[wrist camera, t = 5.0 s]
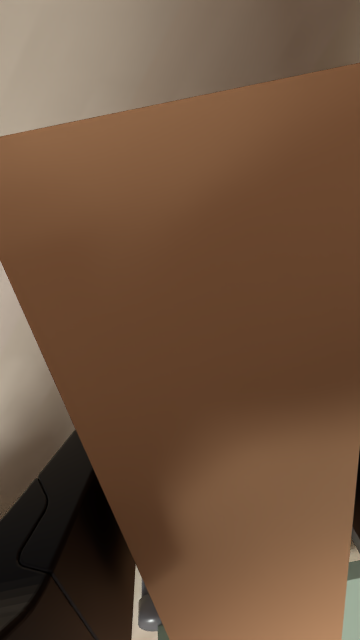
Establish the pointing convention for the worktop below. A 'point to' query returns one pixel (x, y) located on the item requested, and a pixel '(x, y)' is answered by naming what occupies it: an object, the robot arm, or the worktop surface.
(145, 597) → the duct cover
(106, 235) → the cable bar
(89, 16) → the worktop surface
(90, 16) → the worktop surface
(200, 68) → the worktop surface
